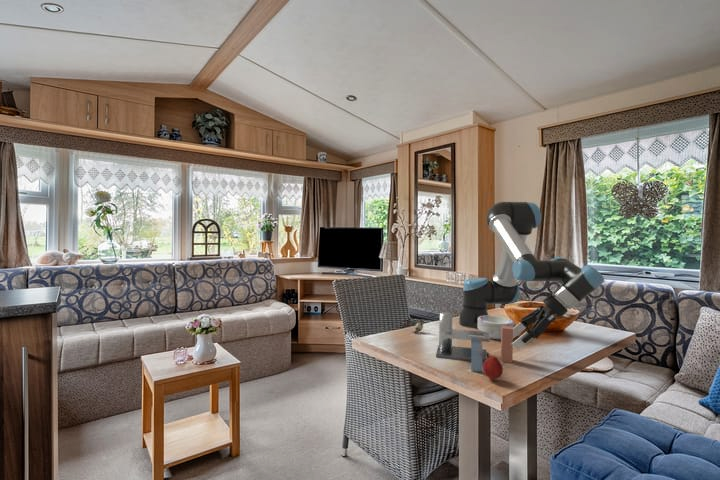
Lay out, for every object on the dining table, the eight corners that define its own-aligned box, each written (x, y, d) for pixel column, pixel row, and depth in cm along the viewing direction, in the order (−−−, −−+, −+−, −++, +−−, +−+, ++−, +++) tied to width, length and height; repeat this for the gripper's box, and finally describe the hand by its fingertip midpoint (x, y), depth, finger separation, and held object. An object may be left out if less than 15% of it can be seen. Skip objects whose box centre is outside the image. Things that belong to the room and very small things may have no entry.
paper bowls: (517, 342, 149) (518, 324, 149) (480, 340, 151) (480, 322, 151) (508, 332, 164) (508, 315, 164) (474, 331, 167) (475, 314, 166)
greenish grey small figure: (417, 330, 167) (418, 317, 166) (427, 333, 163) (428, 320, 162) (410, 332, 163) (411, 319, 162) (419, 335, 159) (421, 322, 158)
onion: (486, 374, 114) (487, 350, 114) (504, 379, 110) (505, 354, 110) (479, 380, 109) (480, 354, 109) (498, 385, 106) (499, 359, 105)
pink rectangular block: (511, 359, 128) (511, 326, 128) (512, 362, 125) (513, 329, 125) (500, 358, 129) (501, 325, 129) (501, 361, 126) (502, 328, 126)
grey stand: (487, 352, 136) (488, 313, 136) (491, 373, 115) (492, 327, 115) (438, 347, 141) (439, 309, 141) (433, 366, 120) (434, 322, 120)
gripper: (579, 318, 109) (525, 361, 113) (559, 303, 133) (515, 339, 137) (560, 300, 110) (508, 343, 114) (543, 288, 134) (500, 325, 138)
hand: (512, 341), depth 126 cm, fingers open, 13 cm apart
